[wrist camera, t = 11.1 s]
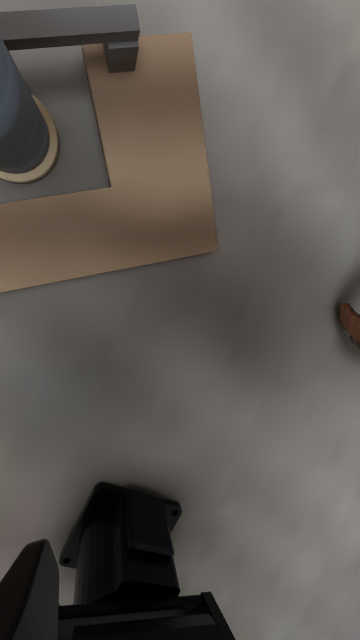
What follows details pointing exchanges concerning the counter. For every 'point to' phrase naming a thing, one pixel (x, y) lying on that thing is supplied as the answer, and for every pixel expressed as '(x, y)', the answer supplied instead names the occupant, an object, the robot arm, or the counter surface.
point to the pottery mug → (351, 322)
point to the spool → (23, 128)
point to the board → (116, 154)
